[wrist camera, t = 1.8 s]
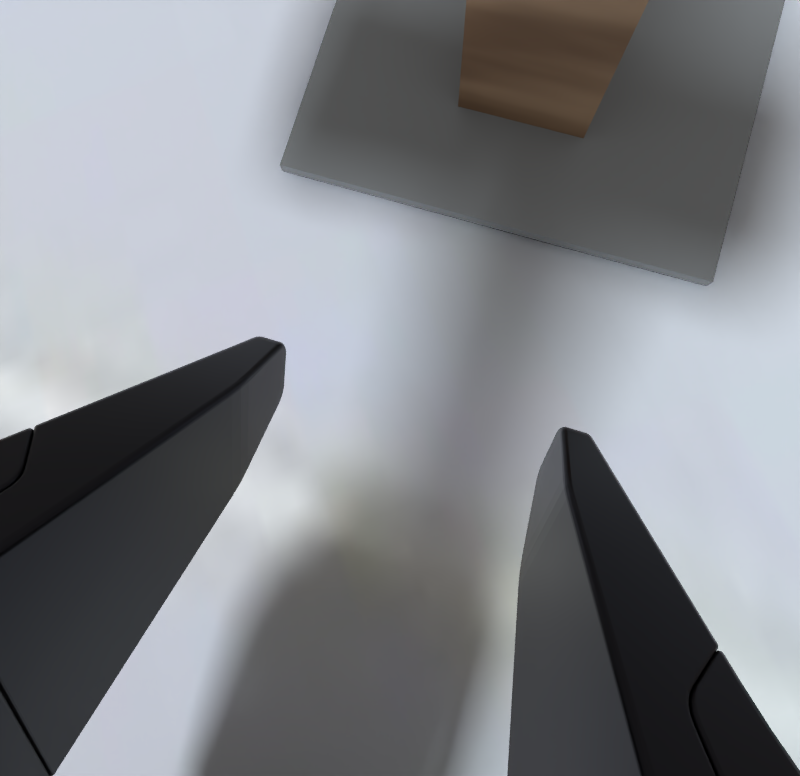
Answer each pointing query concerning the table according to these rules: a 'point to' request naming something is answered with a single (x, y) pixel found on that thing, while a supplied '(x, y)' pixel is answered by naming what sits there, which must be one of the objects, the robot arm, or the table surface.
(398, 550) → the table surface
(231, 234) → the table surface
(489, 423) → the table surface
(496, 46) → the walnut block
